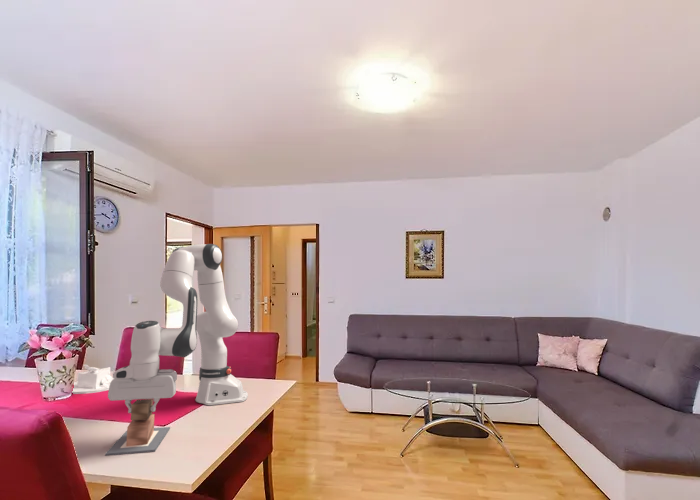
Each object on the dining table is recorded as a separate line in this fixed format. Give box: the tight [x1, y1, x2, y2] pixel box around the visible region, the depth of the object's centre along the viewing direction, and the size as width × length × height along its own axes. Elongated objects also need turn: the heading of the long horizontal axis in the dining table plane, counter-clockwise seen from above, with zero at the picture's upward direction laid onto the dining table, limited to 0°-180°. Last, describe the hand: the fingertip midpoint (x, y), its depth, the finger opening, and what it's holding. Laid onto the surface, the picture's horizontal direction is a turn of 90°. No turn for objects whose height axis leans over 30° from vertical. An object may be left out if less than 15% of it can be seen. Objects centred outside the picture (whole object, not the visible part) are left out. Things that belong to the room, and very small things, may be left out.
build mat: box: [104, 426, 171, 456], centre depth 123 cm, size 14×18×1 cm
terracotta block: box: [126, 413, 155, 446], centre depth 123 cm, size 6×10×6 cm, turn 17°
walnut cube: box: [130, 399, 154, 421], centre depth 124 cm, size 5×5×5 cm
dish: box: [72, 364, 114, 395], centre depth 183 cm, size 25×25×11 cm
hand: (141, 412), depth 124 cm, fingers closed on walnut cube, 5 cm apart
